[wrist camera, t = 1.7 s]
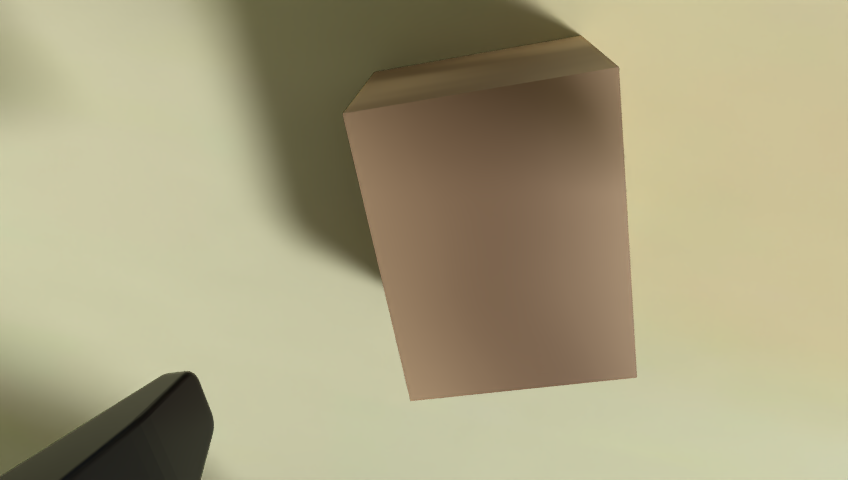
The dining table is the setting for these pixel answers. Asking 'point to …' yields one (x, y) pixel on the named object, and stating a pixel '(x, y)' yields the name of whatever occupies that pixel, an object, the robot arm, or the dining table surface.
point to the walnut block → (500, 217)
